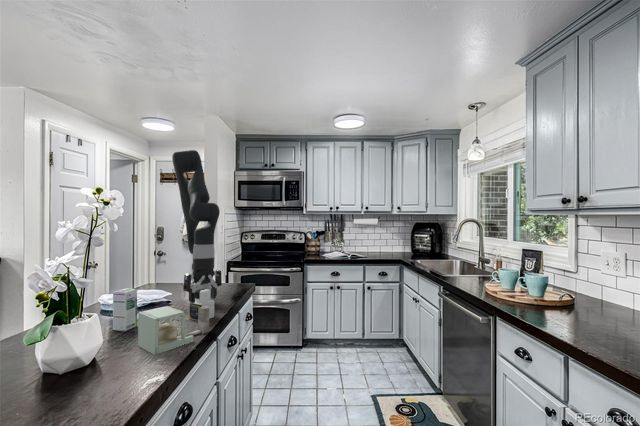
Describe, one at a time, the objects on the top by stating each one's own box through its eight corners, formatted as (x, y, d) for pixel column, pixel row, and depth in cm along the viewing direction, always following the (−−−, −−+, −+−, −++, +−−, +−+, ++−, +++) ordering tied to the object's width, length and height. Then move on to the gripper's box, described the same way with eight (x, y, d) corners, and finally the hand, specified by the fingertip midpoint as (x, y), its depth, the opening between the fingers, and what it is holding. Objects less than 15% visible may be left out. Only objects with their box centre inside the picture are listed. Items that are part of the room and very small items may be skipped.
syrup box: (125, 331, 118) (126, 292, 119) (112, 330, 120) (112, 291, 120) (137, 326, 124) (137, 288, 124) (124, 325, 125) (124, 287, 125)
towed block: (202, 329, 121) (202, 305, 121) (211, 332, 118) (212, 308, 118) (149, 345, 106) (150, 318, 106) (158, 350, 102) (159, 321, 102)
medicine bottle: (189, 319, 133) (189, 290, 133) (202, 314, 139) (203, 286, 140) (201, 321, 130) (201, 292, 130) (214, 317, 136) (215, 288, 136)
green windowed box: (176, 334, 116) (176, 303, 116) (193, 341, 109) (193, 309, 109) (138, 345, 105) (138, 312, 105) (154, 354, 99) (154, 319, 99)
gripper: (214, 254, 127) (213, 295, 126) (180, 257, 115) (179, 302, 115) (226, 255, 122) (225, 298, 122) (191, 259, 111) (190, 306, 110)
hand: (203, 300), depth 118 cm, fingers open, 8 cm apart
